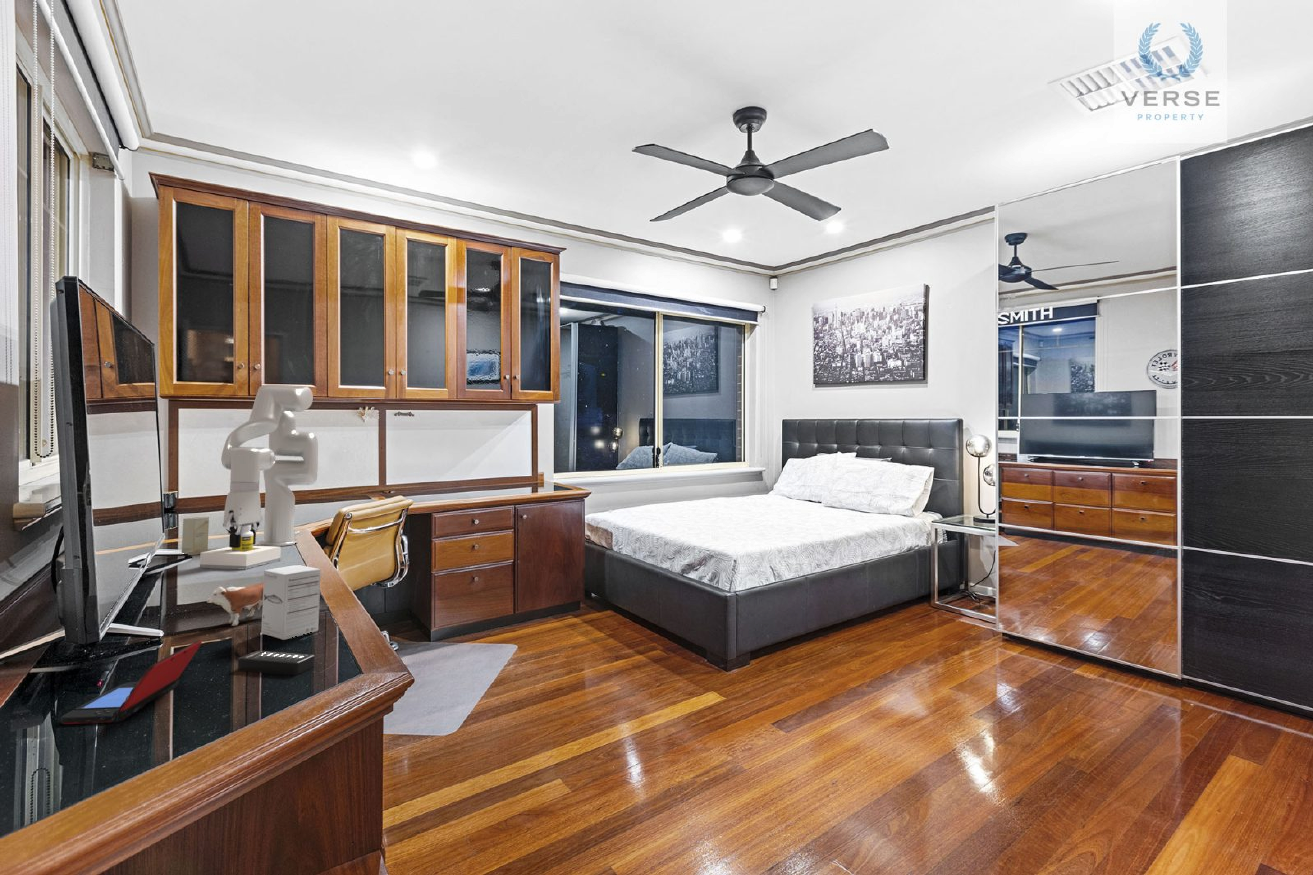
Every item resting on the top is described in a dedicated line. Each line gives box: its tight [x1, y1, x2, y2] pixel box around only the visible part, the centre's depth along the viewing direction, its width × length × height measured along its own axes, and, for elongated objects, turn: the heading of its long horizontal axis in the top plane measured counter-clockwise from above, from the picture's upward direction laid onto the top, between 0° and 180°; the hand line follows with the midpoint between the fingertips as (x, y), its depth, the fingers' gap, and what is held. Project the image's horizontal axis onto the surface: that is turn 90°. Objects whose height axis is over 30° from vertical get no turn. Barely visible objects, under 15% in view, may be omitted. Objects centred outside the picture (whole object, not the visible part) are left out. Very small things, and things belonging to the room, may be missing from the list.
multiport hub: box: [237, 650, 316, 676], centre depth 100 cm, size 4×11×2 cm, turn 82°
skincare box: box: [181, 516, 210, 556], centre depth 202 cm, size 6×4×12 cm
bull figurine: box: [206, 581, 264, 627], centre depth 126 cm, size 4×13×8 cm, turn 163°
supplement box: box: [260, 564, 322, 641], centre depth 119 cm, size 7×7×13 cm
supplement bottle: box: [232, 524, 254, 552], centre depth 186 cm, size 5×5×10 cm
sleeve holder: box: [199, 545, 282, 570], centre depth 186 cm, size 15×15×4 cm
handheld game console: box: [60, 639, 202, 725], centre depth 85 cm, size 12×11×7 cm
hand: (242, 545), depth 186 cm, fingers closed on supplement bottle, 5 cm apart
